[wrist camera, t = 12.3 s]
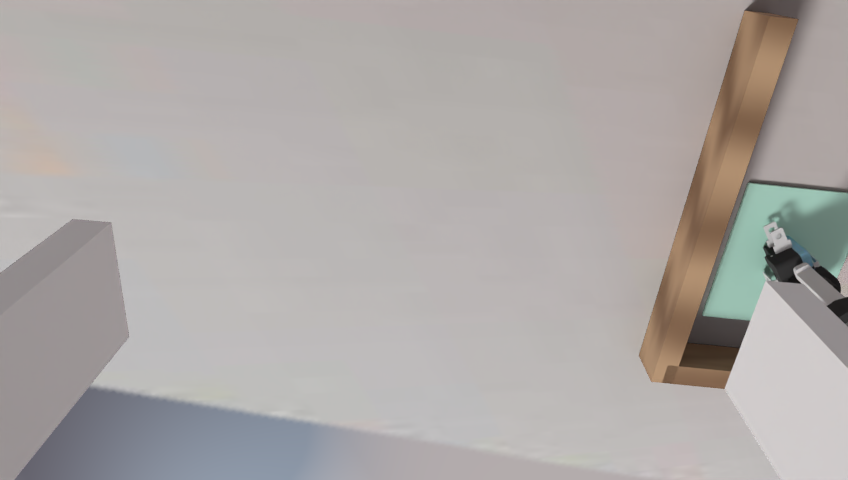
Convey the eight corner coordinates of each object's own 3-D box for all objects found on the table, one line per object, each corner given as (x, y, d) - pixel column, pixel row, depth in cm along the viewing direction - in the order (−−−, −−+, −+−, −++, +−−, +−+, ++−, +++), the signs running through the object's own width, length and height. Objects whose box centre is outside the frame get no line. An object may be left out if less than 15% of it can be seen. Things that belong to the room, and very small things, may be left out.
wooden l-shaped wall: (744, 10, 35) (769, 16, 32) (931, 30, 35) (973, 37, 32) (638, 355, 45) (651, 381, 42) (783, 369, 45) (804, 396, 42)
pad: (748, 182, 39) (749, 183, 39) (871, 195, 39) (873, 196, 39) (701, 314, 43) (702, 315, 43) (813, 325, 43) (814, 327, 43)
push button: (726, 238, 40) (805, 322, 32) (807, 200, 39) (915, 276, 30) (759, 312, 43) (842, 409, 34) (836, 278, 42) (944, 371, 33)
